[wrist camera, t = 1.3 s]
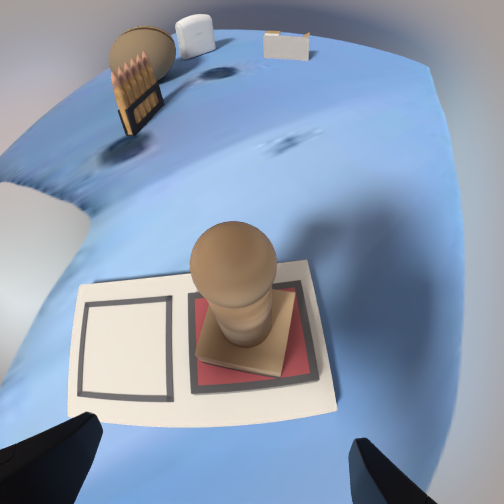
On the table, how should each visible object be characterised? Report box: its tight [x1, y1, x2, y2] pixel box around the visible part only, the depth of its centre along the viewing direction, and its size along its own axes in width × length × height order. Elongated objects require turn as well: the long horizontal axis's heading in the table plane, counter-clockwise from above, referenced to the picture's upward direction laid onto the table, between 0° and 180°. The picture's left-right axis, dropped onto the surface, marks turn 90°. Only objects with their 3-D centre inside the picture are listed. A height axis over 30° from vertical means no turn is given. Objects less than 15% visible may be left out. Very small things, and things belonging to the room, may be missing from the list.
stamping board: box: [68, 260, 337, 427], centre depth 22 cm, size 22×13×2 cm, turn 96°
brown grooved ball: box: [109, 26, 176, 82], centre depth 48 cm, size 15×15×15 cm
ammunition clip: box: [111, 50, 164, 136], centre depth 39 cm, size 11×2×12 cm, turn 165°
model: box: [263, 31, 310, 61], centre depth 55 cm, size 3×11×8 cm, turn 78°
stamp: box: [190, 221, 295, 379], centre depth 15 cm, size 6×6×12 cm
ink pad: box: [188, 280, 320, 395], centre depth 21 cm, size 9×8×1 cm
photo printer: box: [175, 14, 216, 60], centre depth 59 cm, size 10×4×12 cm, turn 132°
